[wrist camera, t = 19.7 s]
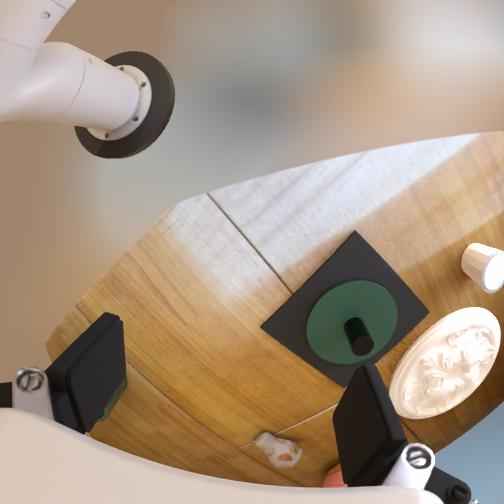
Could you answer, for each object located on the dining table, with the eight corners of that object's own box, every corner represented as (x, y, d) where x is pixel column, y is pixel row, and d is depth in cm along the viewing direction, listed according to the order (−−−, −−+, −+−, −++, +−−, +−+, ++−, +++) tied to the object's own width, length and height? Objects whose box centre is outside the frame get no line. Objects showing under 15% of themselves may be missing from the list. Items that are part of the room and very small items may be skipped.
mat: (260, 325, 44) (260, 327, 43) (354, 230, 38) (356, 231, 38) (343, 386, 46) (344, 388, 45) (428, 310, 41) (429, 312, 40)
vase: (384, 452, 52) (398, 506, 35) (354, 477, 56) (363, 528, 39) (338, 448, 52) (347, 511, 35) (311, 475, 56) (314, 530, 39)
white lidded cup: (477, 230, 36) (502, 241, 30) (490, 259, 38) (513, 272, 31) (452, 258, 38) (476, 272, 31) (466, 285, 39) (488, 302, 32)
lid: (285, 327, 43) (287, 353, 36) (355, 258, 39) (370, 275, 32) (346, 373, 44) (354, 399, 38) (410, 315, 41) (428, 336, 34)
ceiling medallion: (360, 400, 47) (364, 411, 44) (456, 282, 39) (466, 289, 36) (437, 424, 49) (441, 433, 46) (513, 335, 41) (521, 342, 38)
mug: (264, 421, 50) (289, 458, 42) (291, 425, 55) (314, 456, 47) (240, 441, 50) (262, 478, 42) (268, 444, 56) (289, 475, 47)
